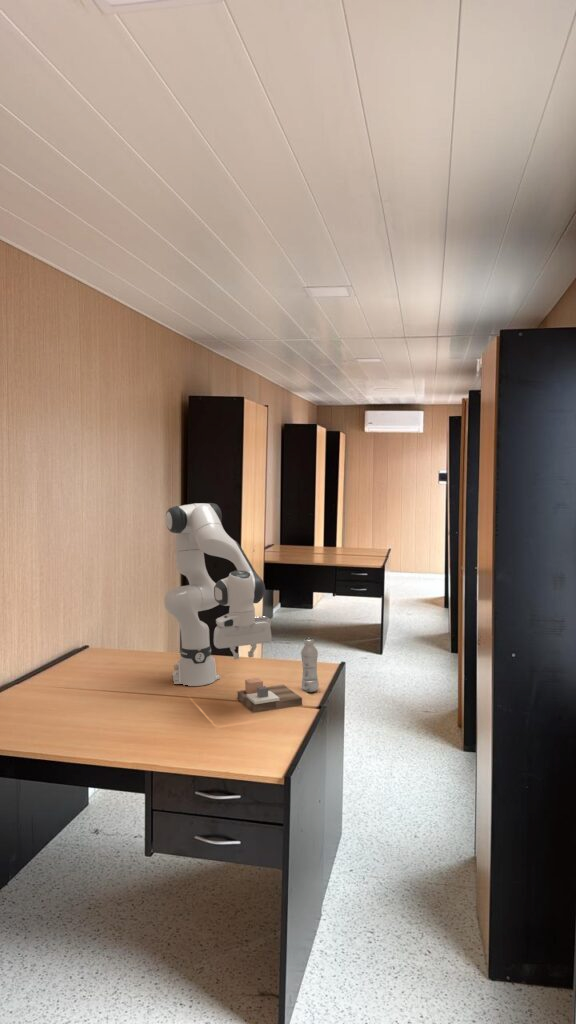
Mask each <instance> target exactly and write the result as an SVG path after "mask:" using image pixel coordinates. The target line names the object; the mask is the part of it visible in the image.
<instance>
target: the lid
mask: <svg viewBox="0 0 576 1024" xmlns="http://www.w3.org/2000/svg"><path fill="white" fill-rule="evenodd" d="M267 687H268V686H266V685H263V686H261V687H257V693H252V694H246V697H247V698H248V699H249V700H250V701H251V702H253V703H254V704H261V703H267V702H274V701H279V697H278V696H276V695H275V694H274V693H272V692H271V691H268V688H267Z"/></svg>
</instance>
